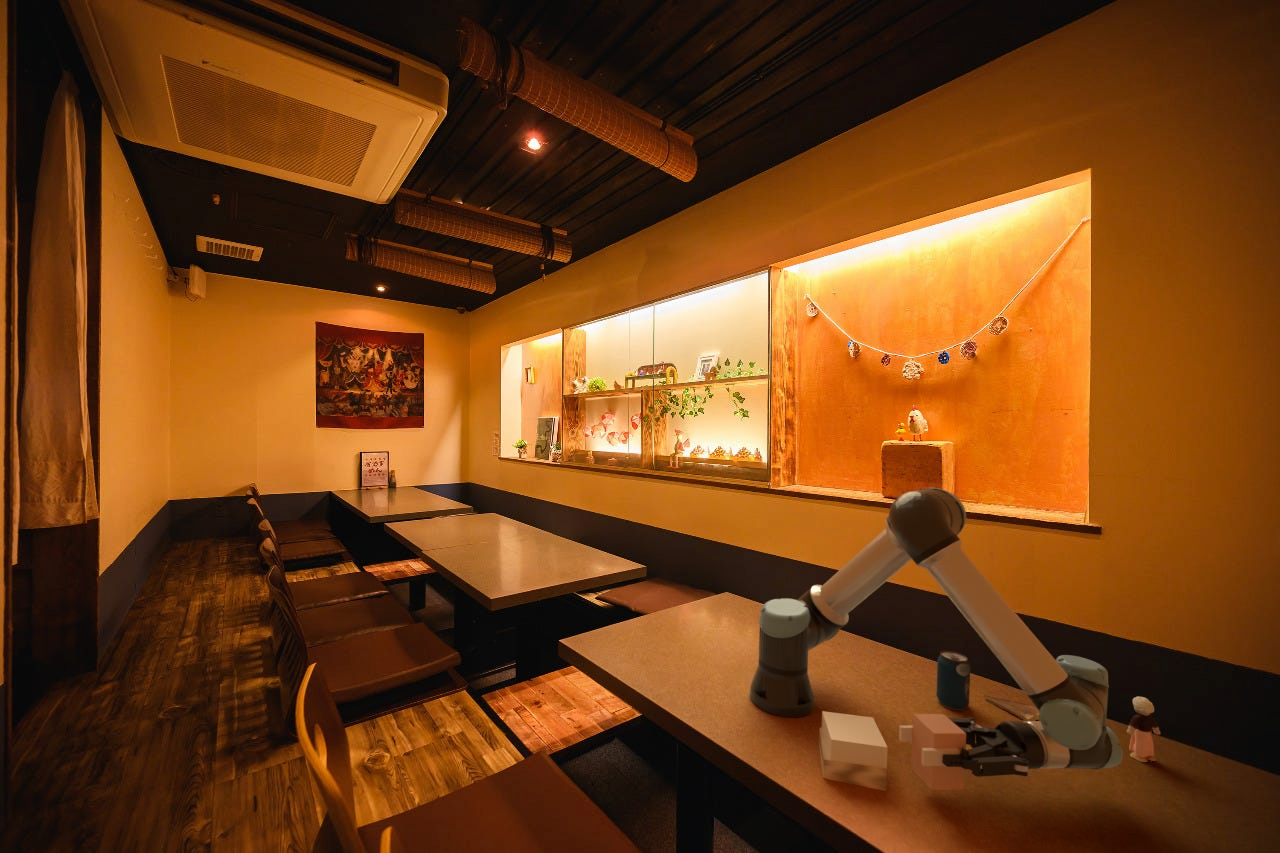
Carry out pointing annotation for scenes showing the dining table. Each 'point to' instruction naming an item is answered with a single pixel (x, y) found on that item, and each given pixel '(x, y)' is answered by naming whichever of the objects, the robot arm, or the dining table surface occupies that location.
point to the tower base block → (850, 770)
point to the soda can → (953, 680)
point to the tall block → (937, 735)
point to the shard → (1016, 708)
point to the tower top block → (854, 740)
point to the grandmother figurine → (1142, 730)
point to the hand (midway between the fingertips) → (911, 745)
